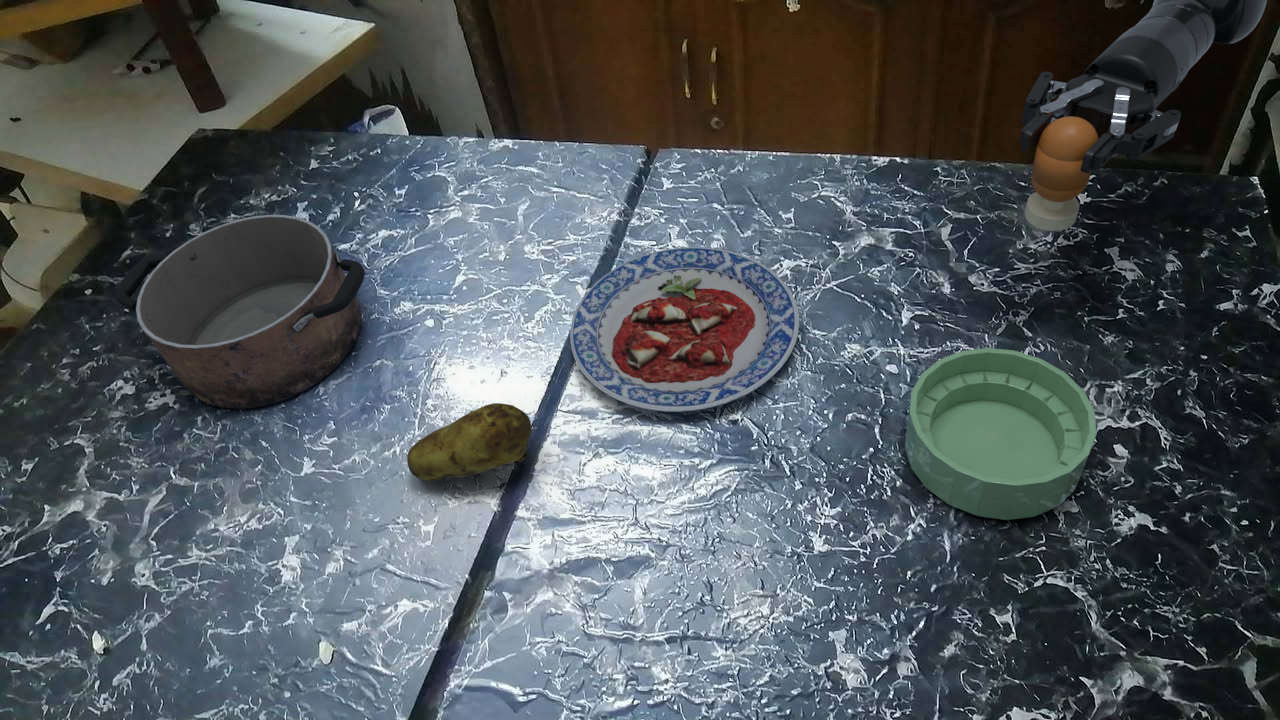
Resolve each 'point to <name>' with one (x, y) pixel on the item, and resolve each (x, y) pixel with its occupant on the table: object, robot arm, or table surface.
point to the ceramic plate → (684, 329)
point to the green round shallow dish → (998, 433)
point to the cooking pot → (249, 309)
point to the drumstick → (1059, 173)
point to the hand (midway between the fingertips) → (1055, 153)
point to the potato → (472, 444)
